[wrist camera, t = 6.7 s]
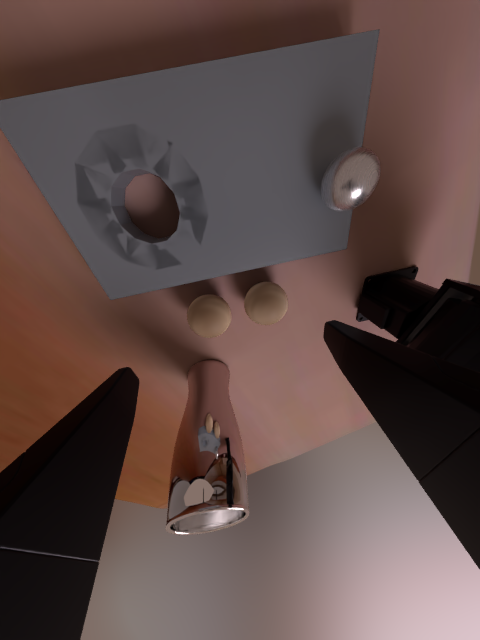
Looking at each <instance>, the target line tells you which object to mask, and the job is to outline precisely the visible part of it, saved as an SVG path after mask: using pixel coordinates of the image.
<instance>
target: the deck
mask: <svg viewBox="0 0 480 640" xmlns="http://www.w3.org/2000/svg"><path fill="white" fill-rule="evenodd" d="M379 30H380V29H378V30H373V31H368V32H362V33H357V34H352V35H346V36H341V37H336V38H330V39H325V40H320V41H314V42H309V43H304V44H298V45H293V46H288V47H282V48H277V49H271V50H266V51H261V52H255V53H250V54H245V55H239V56H234V57H229V58H223V59H218V60H213V61H207V62H202V63H197V64H191V65H186V66H181V67H175V68H170V69H164V70H159V71H154V72H148V73H143V74H138V75H132V76H127V77H122V78H116V79H111V80H106V81H100V82H95V83H90V84H84V85H79V86H74V87H68V88H63V89H58V90H52V91H47V92H41V93H36V94H31V95H25V96H20V97H15V98H9V99H4V100H0V128H1V130H2V131H3V133H4V134H5V136H6V138H7V139H8V141H9V142H10V144H11V145H12V147H13V148H14V150H15V152H16V153H17V155H18V156H19V158H20V159H21V161H22V163H23V164H24V166H25V167H26V169H27V170H28V172H29V173H30V175H31V177H32V178H33V180H34V181H35V183H36V184H37V186H38V188H39V189H40V191H41V192H42V194H43V195H44V197H45V198H46V200H47V202H48V203H49V205H50V206H51V208H52V209H53V211H54V213H55V214H56V216H57V217H58V219H59V220H60V222H61V224H62V225H63V227H64V228H65V230H66V231H67V233H68V234H69V236H70V238H71V239H72V241H73V242H74V244H75V245H76V247H77V249H78V250H79V252H80V253H81V255H82V256H83V258H84V259H85V261H86V263H87V264H88V266H89V267H90V269H91V270H92V272H93V274H94V275H95V277H96V278H97V280H98V281H99V283H100V284H101V286H102V288H103V289H104V291H105V292H106V294H107V295H108V297H109V299H110V300H113V299H118V298H123V297H127V296H132V295H136V294H141V293H146V292H150V291H155V290H159V289H164V288H169V287H173V286H178V285H183V284H187V283H192V282H196V281H201V280H206V279H210V278H215V277H219V276H224V275H229V274H233V273H238V272H242V271H247V270H252V269H256V268H261V267H266V266H270V265H275V264H279V263H284V262H289V261H293V260H298V259H302V258H307V257H312V256H316V255H321V254H325V253H330V252H335V251H339V250H344V249H347V243H348V236H349V230H350V223H351V216H352V210H353V209H352V210H348V211H335V210H332V209H330V208H329V207H328V206H326V204H325V203H324V201H323V199H322V196H321V182H322V178H323V175H324V173H325V171H326V169H327V167H328V166H329V165H330V163H331V162H332V161H333V160H334V159H335V158H336V157H337V156H338V155H339V154H341V153H342V152H344V151H346V150H348V149H351V148H355V147H362V143H363V136H364V130H365V123H366V116H367V110H368V103H369V96H370V90H371V83H372V76H373V70H374V63H375V56H376V50H377V43H378V36H379ZM148 173H151V174H154V175H156V176H158V177H160V178H161V179H162V180H163V181H164V182H165V183H166V185H167V186H168V187H169V188H170V189H171V190H172V191H173V193H174V195H175V198H176V201H177V204H178V208H179V211H180V216H179V222H178V228H177V230H176V231H175V233H174V234H173V235H172V236H169V237H164V238H156V237H153V236H150V235H147V234H144V233H143V232H142V231H141V230H140V229H139V228H138V227H137V226H136V225H135V224H133V223H132V221H131V219H130V217H129V214H128V212H127V210H126V208H125V188H126V187H127V186H128V184H129V183H130V182H131V180H132V179H133V178H134V177H135V176H138V175H143V174H148Z"/></svg>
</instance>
